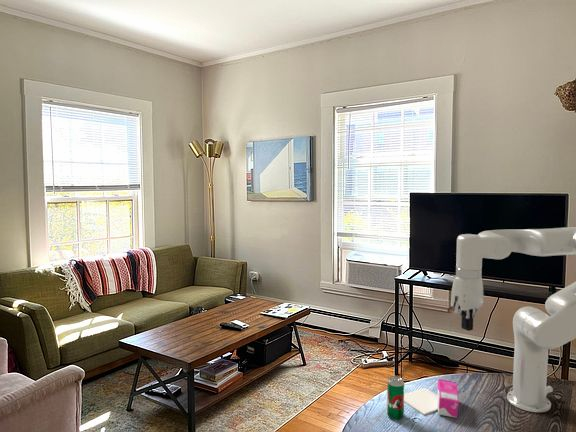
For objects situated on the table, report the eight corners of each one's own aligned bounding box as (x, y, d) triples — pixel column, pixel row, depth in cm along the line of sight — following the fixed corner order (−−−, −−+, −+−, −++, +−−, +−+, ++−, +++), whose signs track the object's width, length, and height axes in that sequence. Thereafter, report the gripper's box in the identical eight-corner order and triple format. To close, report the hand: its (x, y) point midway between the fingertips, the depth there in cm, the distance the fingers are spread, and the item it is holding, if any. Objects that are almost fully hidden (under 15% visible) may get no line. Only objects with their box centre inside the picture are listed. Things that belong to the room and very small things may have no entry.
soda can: (406, 415, 138) (407, 379, 137) (398, 422, 135) (398, 385, 133) (392, 409, 142) (393, 374, 140) (384, 416, 138) (384, 379, 137)
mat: (424, 389, 154) (424, 387, 154) (451, 405, 144) (451, 403, 144) (397, 397, 149) (397, 396, 149) (423, 415, 138) (424, 413, 138)
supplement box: (455, 397, 147) (456, 419, 136) (436, 393, 149) (436, 414, 138) (457, 382, 146) (459, 402, 135) (438, 378, 148) (439, 398, 137)
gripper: (475, 268, 147) (473, 321, 149) (442, 273, 140) (441, 329, 142) (494, 272, 140) (492, 328, 143) (461, 279, 134) (459, 337, 136)
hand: (467, 329), depth 142 cm, fingers closed
